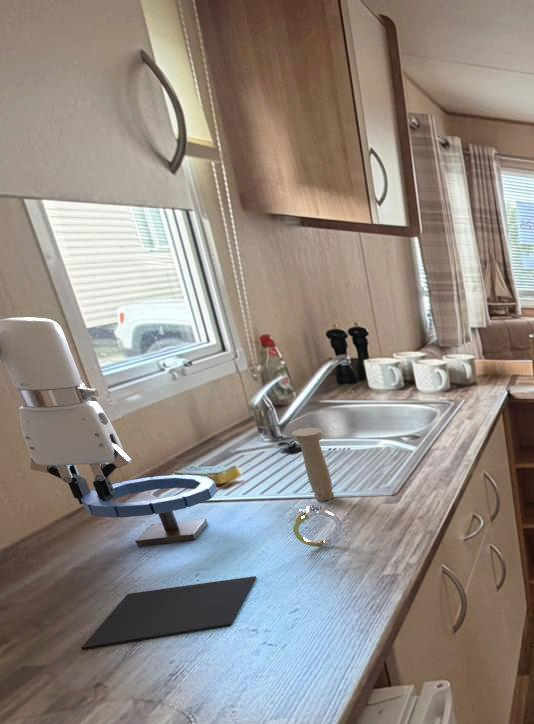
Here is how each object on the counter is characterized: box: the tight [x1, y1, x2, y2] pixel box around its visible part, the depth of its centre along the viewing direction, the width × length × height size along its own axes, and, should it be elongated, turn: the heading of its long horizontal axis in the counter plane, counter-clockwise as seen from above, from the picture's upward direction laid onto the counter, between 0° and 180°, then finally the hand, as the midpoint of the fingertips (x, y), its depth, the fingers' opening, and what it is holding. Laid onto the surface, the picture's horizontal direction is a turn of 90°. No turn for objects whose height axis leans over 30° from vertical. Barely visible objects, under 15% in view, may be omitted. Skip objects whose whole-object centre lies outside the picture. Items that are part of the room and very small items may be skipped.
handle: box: [291, 427, 335, 502], centre depth 135 cm, size 5×6×15 cm
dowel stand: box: [135, 511, 209, 547], centre depth 118 cm, size 8×8×5 cm
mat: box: [81, 575, 257, 651], centre depth 97 cm, size 16×16×1 cm
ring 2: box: [292, 504, 342, 548], centre depth 116 cm, size 7×3×8 cm, turn 119°
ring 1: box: [81, 474, 219, 519], centre depth 115 cm, size 17×17×2 cm
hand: (96, 500), depth 112 cm, fingers closed on ring 1, 2 cm apart
